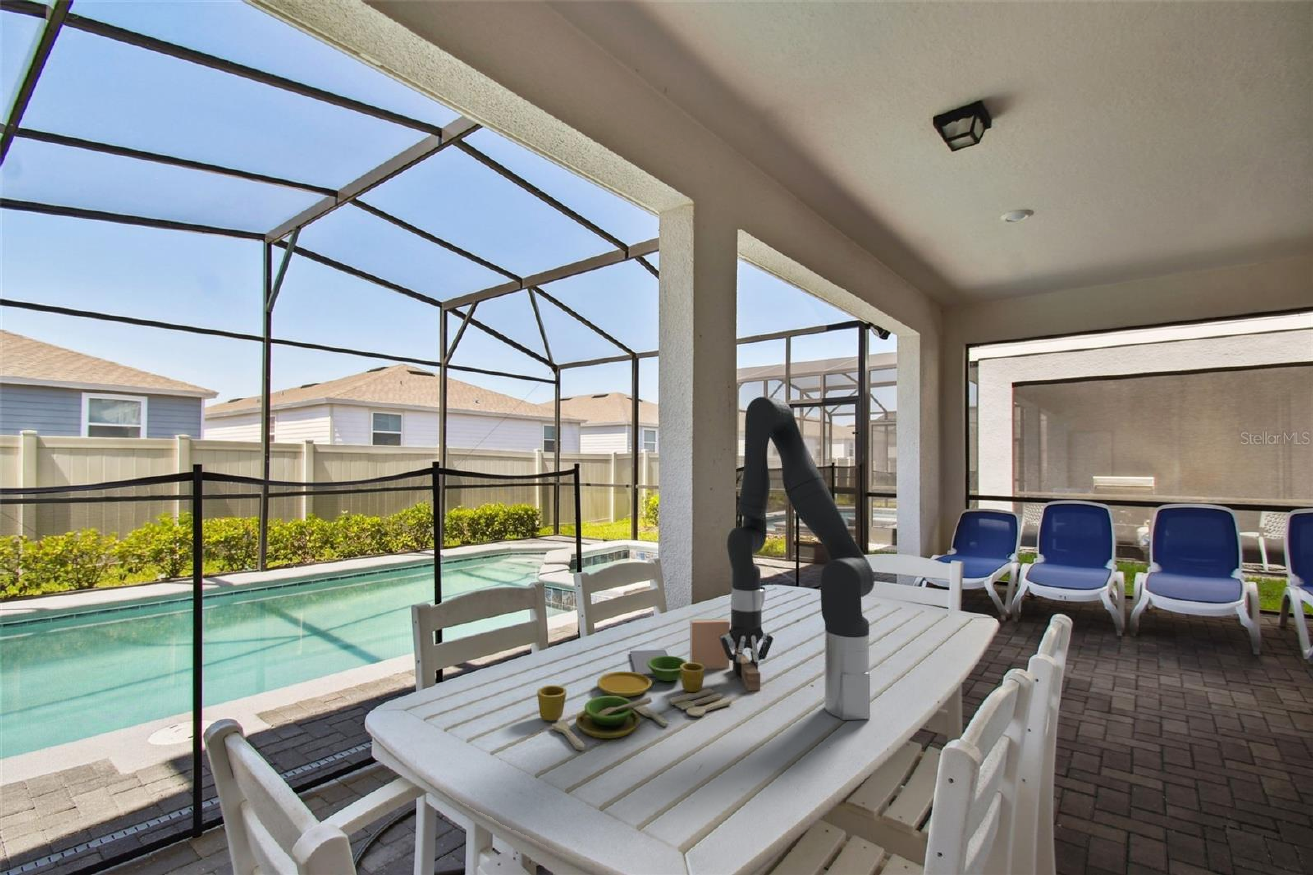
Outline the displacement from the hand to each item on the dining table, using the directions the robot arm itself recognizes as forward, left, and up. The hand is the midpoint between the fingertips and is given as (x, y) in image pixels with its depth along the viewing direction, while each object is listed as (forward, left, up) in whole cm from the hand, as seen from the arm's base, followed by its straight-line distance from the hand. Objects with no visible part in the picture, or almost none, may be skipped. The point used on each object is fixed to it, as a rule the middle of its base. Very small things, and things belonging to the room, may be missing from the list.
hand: (746, 676), depth 146 cm
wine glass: (+35, -12, -1) cm, 37 cm away
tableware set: (-12, +30, -1) cm, 32 cm away
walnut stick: (0, 0, -1) cm, 1 cm away
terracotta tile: (+10, +7, -1) cm, 12 cm away
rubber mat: (+13, +22, -1) cm, 26 cm away
